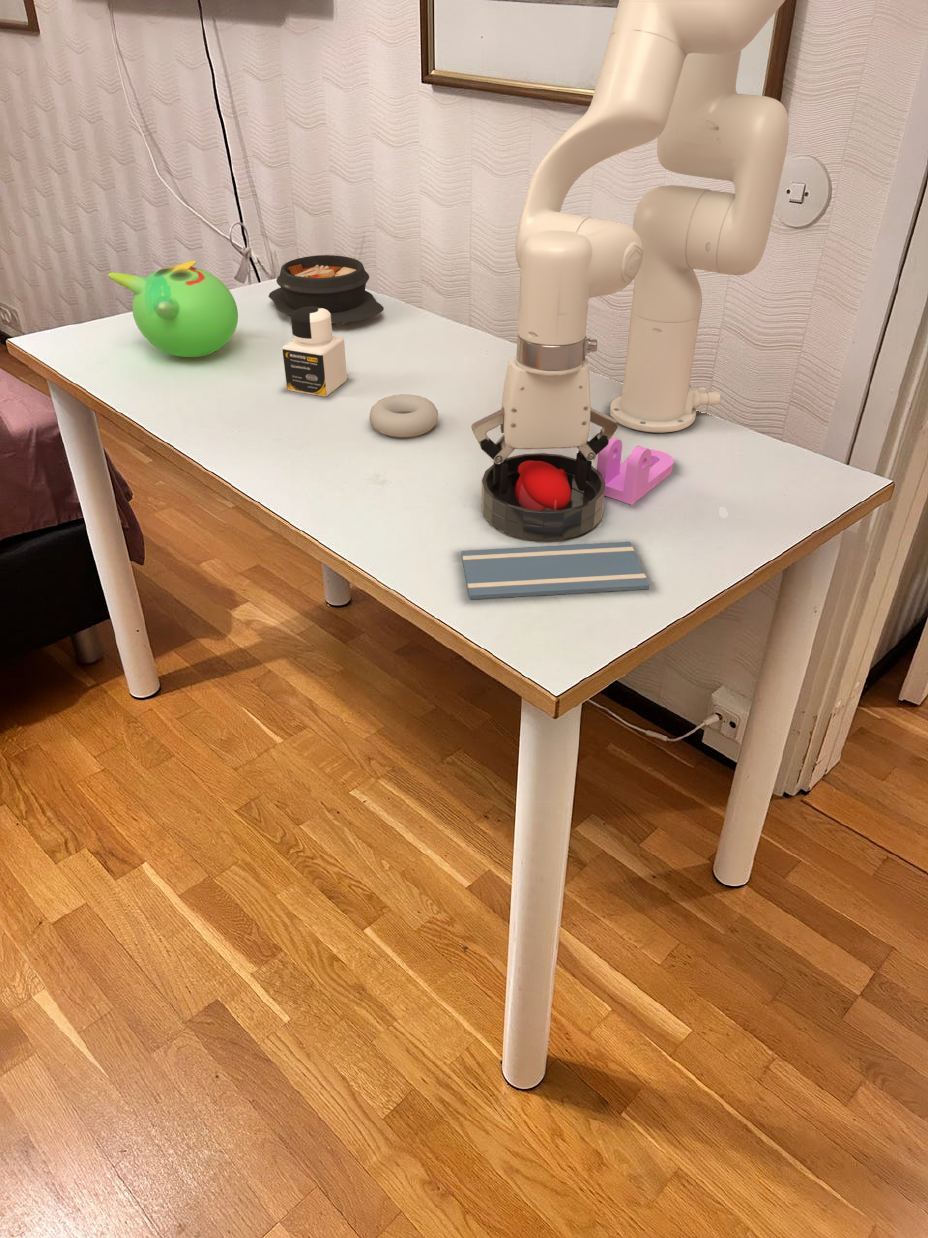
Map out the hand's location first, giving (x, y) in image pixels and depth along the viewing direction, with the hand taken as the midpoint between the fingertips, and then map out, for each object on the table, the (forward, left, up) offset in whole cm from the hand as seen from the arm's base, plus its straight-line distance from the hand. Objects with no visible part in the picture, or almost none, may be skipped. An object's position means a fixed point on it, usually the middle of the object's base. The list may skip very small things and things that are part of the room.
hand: (540, 487), depth 115 cm
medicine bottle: (+29, -42, -4) cm, 51 cm away
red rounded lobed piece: (0, 0, -3) cm, 3 cm away
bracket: (-14, -7, -4) cm, 17 cm away
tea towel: (+1, +13, -4) cm, 14 cm away
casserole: (+28, -77, -4) cm, 82 cm away
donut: (+16, -26, -4) cm, 31 cm away
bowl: (0, 0, -4) cm, 4 cm away
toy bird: (+51, -58, -4) cm, 77 cm away
